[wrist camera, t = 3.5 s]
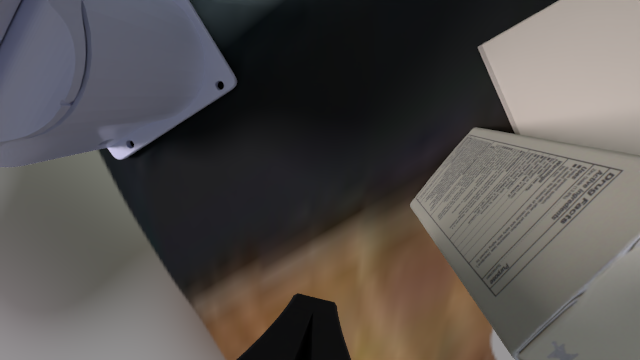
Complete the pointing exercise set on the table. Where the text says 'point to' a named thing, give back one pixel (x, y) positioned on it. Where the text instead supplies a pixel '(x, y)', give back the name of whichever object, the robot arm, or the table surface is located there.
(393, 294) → the table surface
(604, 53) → the mat
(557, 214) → the skincare box
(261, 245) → the table surface
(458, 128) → the table surface
